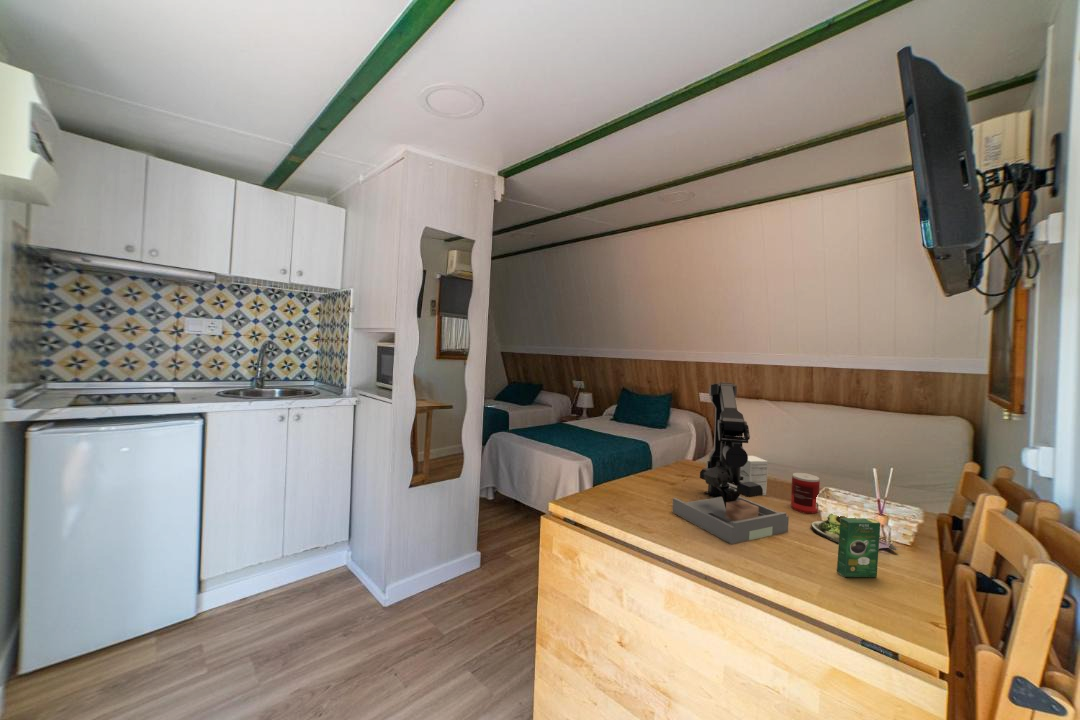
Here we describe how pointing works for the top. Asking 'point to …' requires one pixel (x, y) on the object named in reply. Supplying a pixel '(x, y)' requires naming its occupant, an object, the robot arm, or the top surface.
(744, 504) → the block
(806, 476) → the canned food
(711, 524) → the box
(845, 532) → the coffee box
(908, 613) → the top surface
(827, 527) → the salad plate
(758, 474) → the supplement box
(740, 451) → the robot arm
